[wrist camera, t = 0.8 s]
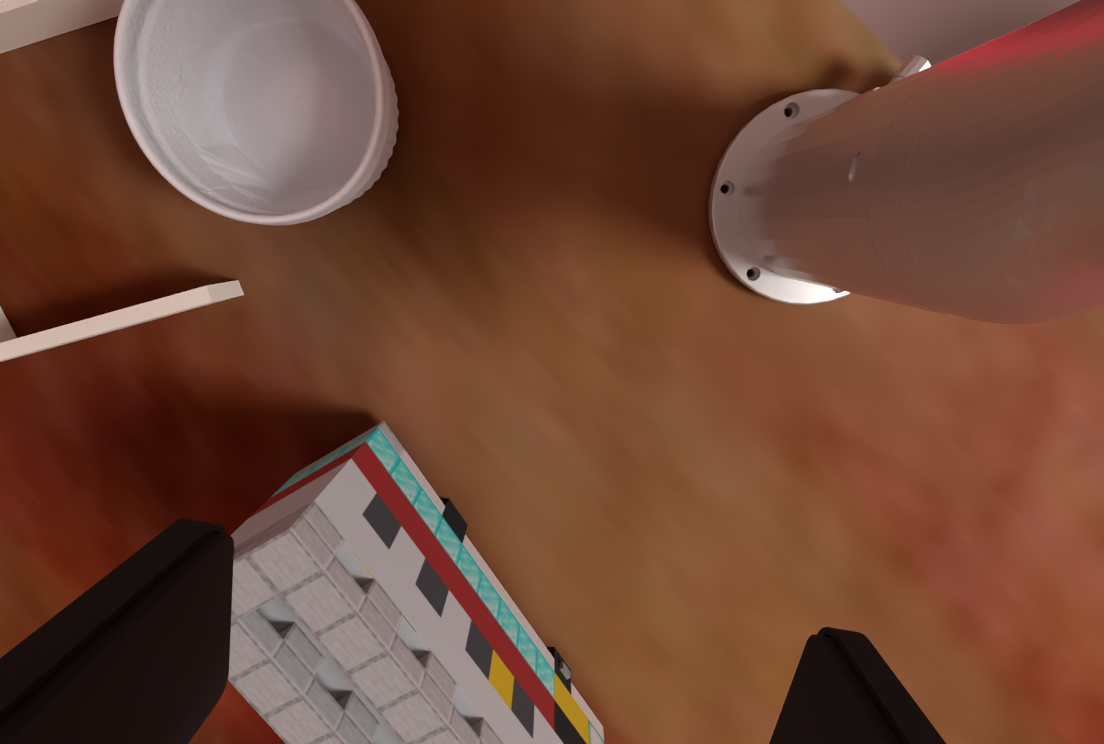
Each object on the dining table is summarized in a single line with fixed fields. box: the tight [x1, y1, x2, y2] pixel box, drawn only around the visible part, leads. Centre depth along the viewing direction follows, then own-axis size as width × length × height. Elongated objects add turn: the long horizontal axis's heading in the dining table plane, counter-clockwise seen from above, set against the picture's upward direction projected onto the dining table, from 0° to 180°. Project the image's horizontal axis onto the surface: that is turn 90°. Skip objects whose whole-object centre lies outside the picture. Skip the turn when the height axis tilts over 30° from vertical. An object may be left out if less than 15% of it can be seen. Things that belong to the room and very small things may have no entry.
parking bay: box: [0, 0, 244, 362], centre depth 33 cm, size 17×18×4 cm
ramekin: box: [113, 0, 399, 225], centre depth 30 cm, size 13×13×7 cm
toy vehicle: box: [228, 421, 604, 744], centre depth 35 cm, size 8×30×15 cm, turn 31°
